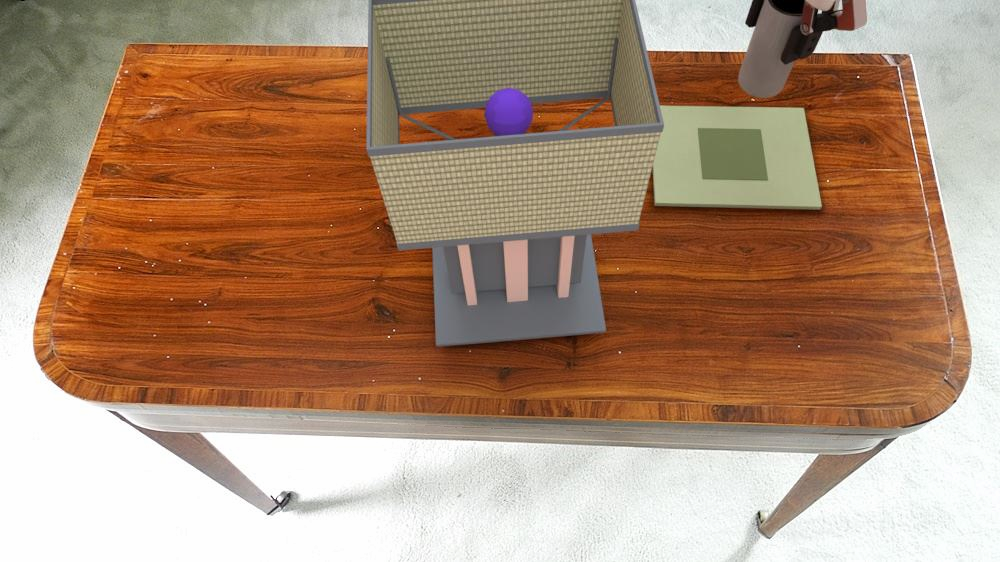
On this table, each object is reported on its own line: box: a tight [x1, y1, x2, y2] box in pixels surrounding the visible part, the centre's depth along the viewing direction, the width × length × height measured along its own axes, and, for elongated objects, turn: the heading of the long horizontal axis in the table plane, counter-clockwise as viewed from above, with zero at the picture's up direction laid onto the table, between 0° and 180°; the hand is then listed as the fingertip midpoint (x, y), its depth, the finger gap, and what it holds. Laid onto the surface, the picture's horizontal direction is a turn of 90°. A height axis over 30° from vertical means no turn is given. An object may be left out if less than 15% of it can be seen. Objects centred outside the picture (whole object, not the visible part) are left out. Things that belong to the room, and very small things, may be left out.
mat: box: [652, 105, 823, 211], centre depth 83 cm, size 18×14×1 cm
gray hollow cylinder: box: [737, 0, 805, 99], centre depth 68 cm, size 4×4×10 cm
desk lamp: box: [366, 0, 664, 348], centre depth 62 cm, size 18×14×33 cm
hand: (778, 37), depth 68 cm, fingers closed on gray hollow cylinder, 4 cm apart
